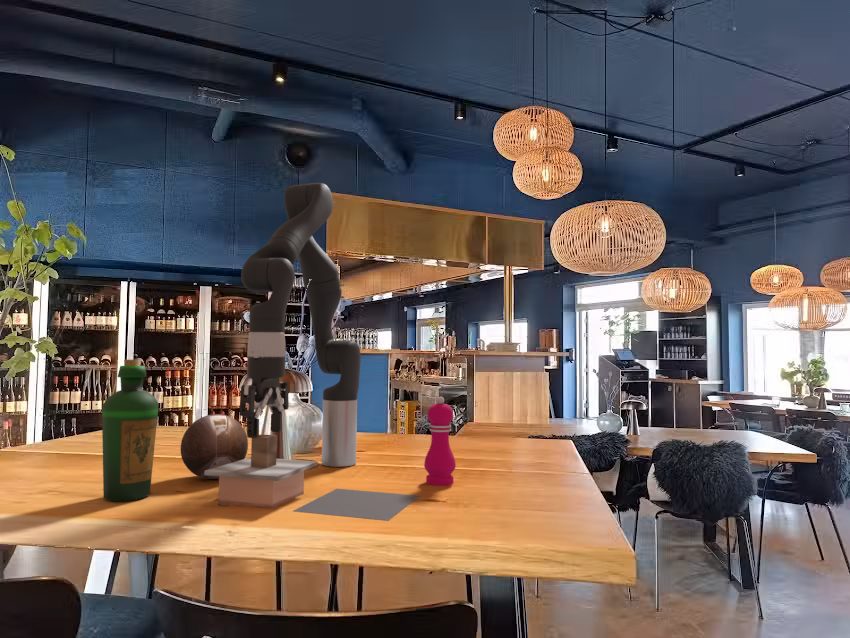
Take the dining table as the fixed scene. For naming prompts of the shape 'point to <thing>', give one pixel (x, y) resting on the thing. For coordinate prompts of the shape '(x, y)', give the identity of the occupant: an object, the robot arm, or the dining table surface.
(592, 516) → the dining table surface
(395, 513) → the mat
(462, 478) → the dining table surface
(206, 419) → the brown ball
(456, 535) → the dining table surface
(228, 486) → the pink storage bin
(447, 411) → the pepper mill
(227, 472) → the lid
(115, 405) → the bottle
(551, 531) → the dining table surface
